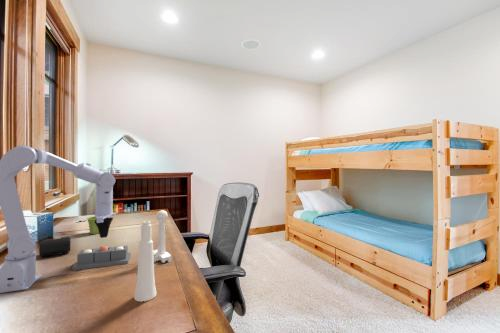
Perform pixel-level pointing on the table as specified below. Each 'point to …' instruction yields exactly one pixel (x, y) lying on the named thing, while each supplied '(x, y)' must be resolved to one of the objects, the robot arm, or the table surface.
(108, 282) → the table surface
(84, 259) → the socket strip
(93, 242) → the table surface
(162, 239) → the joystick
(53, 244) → the end cap
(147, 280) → the cosmetic bottle
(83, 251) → the near ivory plug
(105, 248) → the salmon rounded peg
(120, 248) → the far ivory plug
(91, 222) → the plant pot
